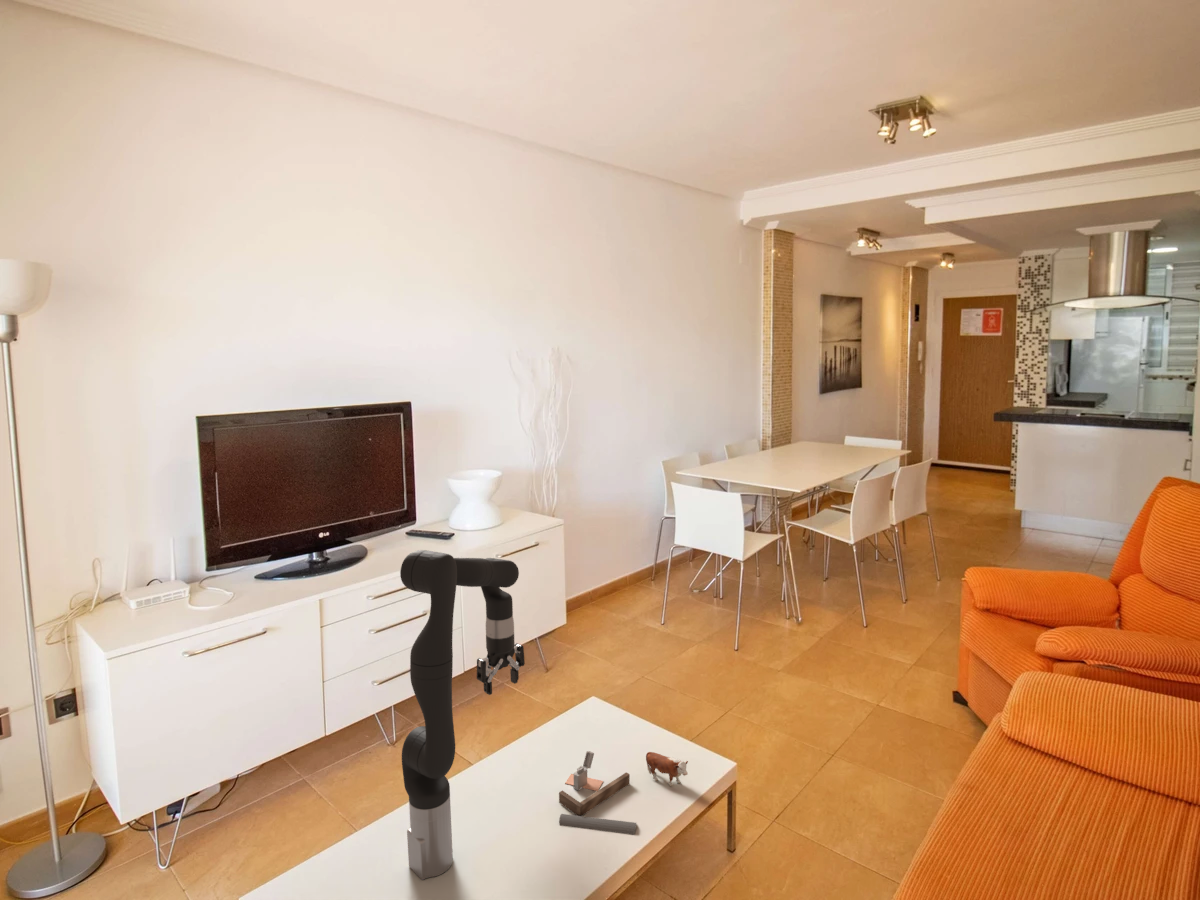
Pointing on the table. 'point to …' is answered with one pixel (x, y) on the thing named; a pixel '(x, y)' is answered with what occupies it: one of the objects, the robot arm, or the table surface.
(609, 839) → the table surface
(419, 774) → the robot arm
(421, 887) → the table surface
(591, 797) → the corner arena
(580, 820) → the gray half cylinder
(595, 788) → the pad
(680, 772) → the bull figurine
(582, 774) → the lighter
